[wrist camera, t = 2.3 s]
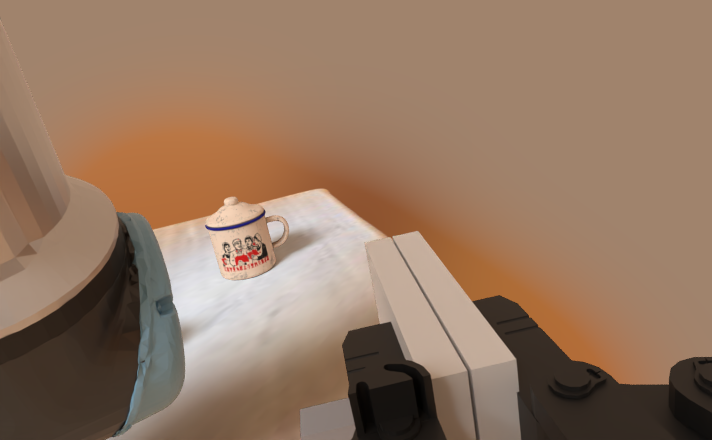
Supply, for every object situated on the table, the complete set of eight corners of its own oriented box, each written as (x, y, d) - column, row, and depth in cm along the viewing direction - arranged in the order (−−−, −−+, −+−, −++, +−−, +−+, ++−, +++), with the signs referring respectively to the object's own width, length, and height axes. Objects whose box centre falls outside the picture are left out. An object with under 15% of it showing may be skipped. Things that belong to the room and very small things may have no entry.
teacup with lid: (220, 287, 72) (198, 213, 69) (219, 266, 81) (200, 199, 77) (300, 265, 75) (282, 192, 71) (291, 247, 83) (275, 180, 80)
